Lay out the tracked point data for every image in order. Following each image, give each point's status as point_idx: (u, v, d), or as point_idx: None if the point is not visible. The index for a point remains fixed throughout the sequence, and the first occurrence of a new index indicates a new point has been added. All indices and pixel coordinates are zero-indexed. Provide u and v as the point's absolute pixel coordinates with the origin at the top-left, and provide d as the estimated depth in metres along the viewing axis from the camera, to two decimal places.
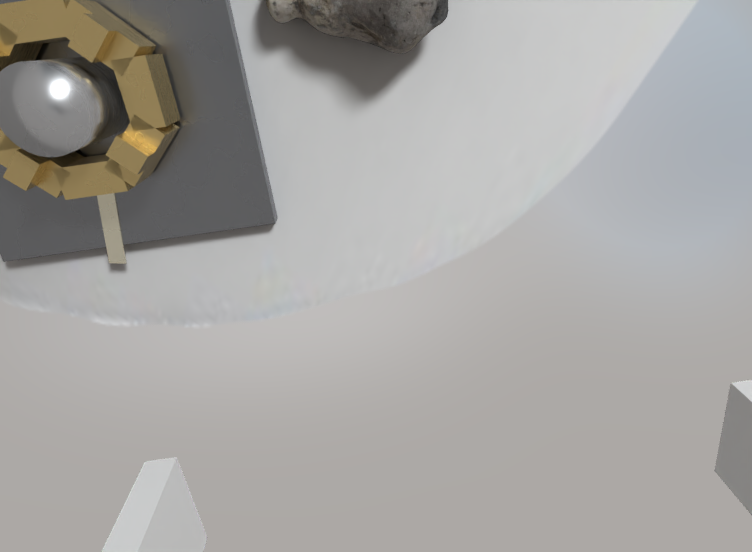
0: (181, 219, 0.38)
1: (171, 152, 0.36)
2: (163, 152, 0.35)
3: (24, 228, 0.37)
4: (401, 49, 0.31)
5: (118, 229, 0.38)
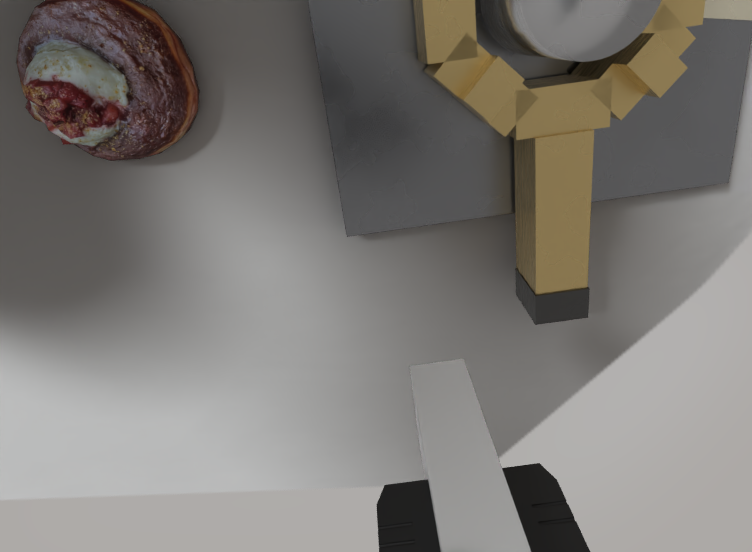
0: None
1: None
2: None
3: (692, 141, 0.26)
4: None
5: None
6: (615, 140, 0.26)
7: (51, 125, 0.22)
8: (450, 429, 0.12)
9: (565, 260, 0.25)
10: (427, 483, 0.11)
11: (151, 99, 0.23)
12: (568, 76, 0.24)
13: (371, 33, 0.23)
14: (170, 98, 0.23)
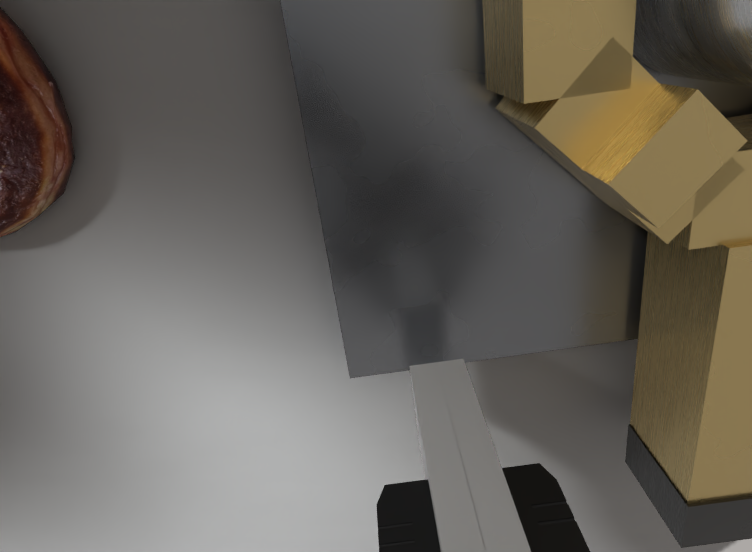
0: None
1: None
2: None
3: None
4: None
5: None
6: None
7: None
8: (450, 429, 0.12)
9: (749, 450, 0.14)
10: (427, 483, 0.11)
11: None
12: None
13: (398, 37, 0.12)
14: None
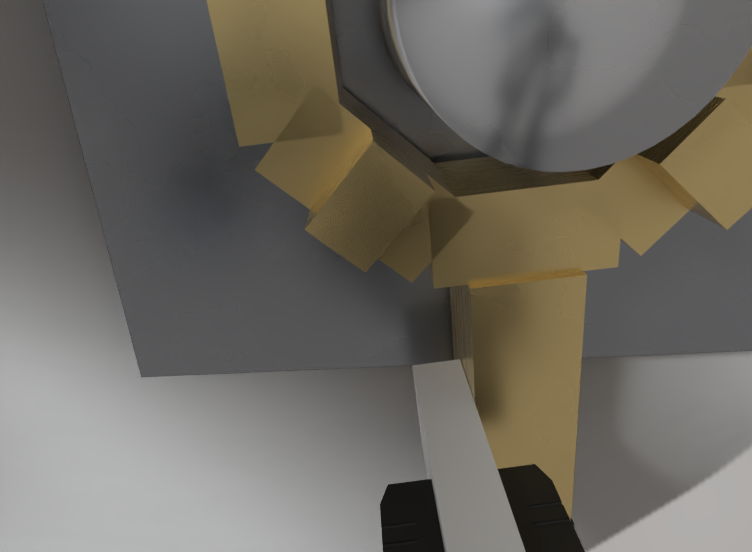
0: None
1: None
2: None
3: (731, 282, 0.16)
4: None
5: None
6: (604, 269, 0.15)
7: None
8: (446, 430, 0.12)
9: None
10: (430, 483, 0.11)
11: None
12: None
13: (166, 40, 0.12)
14: None
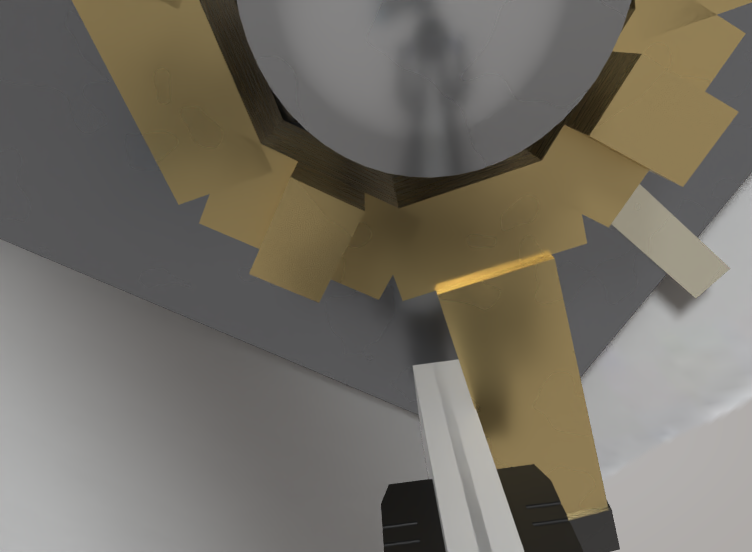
0: None
1: None
2: None
3: None
4: None
5: (665, 218, 0.14)
6: (401, 312, 0.15)
7: None
8: (445, 430, 0.12)
9: (555, 473, 0.13)
10: (431, 483, 0.11)
11: None
12: None
13: None
14: None
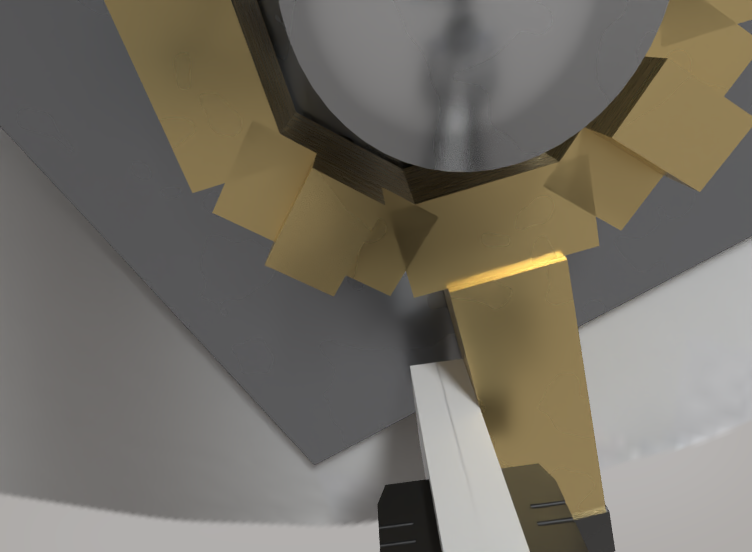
0: (689, 226, 0.14)
1: None
2: None
3: (338, 386, 0.16)
4: None
5: None
6: (277, 283, 0.15)
7: None
8: (449, 429, 0.12)
9: (555, 474, 0.13)
10: (428, 483, 0.11)
11: None
12: None
13: None
14: None
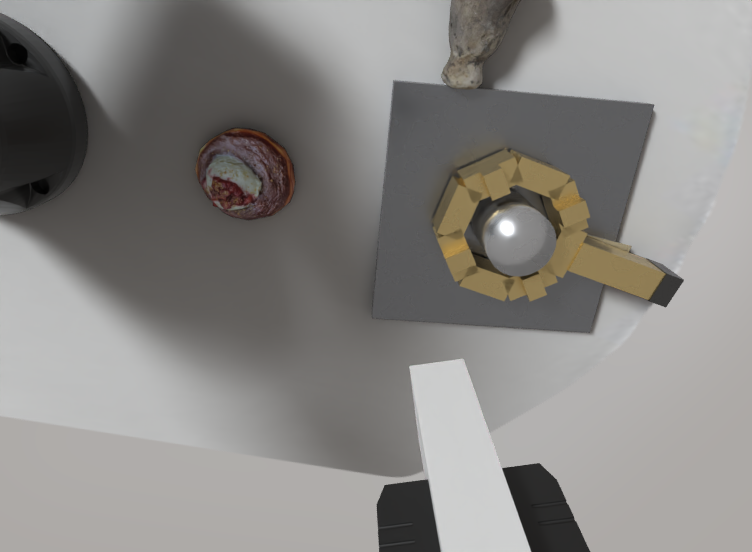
0: (615, 187, 0.43)
1: None
2: (481, 161, 0.41)
3: (572, 307, 0.47)
4: None
5: (602, 240, 0.45)
6: None
7: (215, 198, 0.40)
8: (450, 429, 0.12)
9: (640, 278, 0.42)
10: (427, 483, 0.11)
11: (270, 196, 0.41)
12: None
13: (412, 220, 0.43)
14: (280, 197, 0.42)
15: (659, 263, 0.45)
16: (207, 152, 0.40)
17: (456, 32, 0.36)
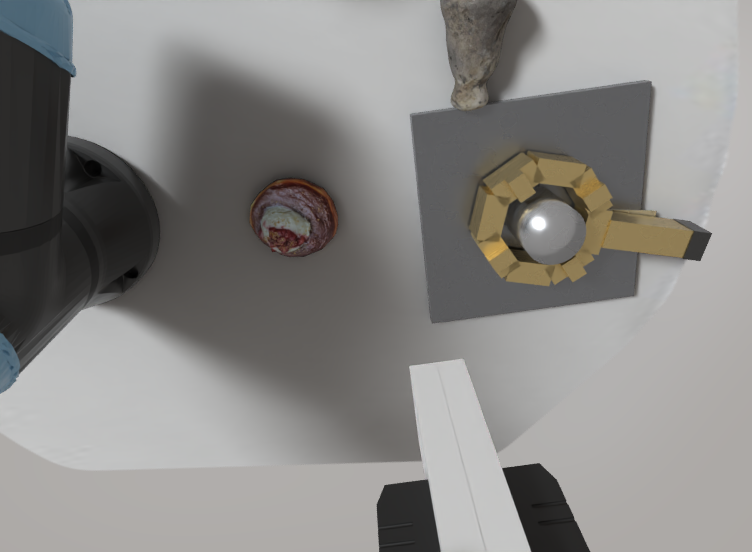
0: (630, 161, 0.46)
1: None
2: (502, 167, 0.45)
3: (612, 276, 0.51)
4: None
5: (628, 211, 0.48)
6: None
7: (273, 245, 0.45)
8: (450, 429, 0.12)
9: (671, 240, 0.46)
10: (427, 483, 0.11)
11: (319, 233, 0.46)
12: (577, 210, 0.47)
13: (451, 231, 0.48)
14: (328, 231, 0.47)
15: None
16: (258, 206, 0.46)
17: (457, 63, 0.41)
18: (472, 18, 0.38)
